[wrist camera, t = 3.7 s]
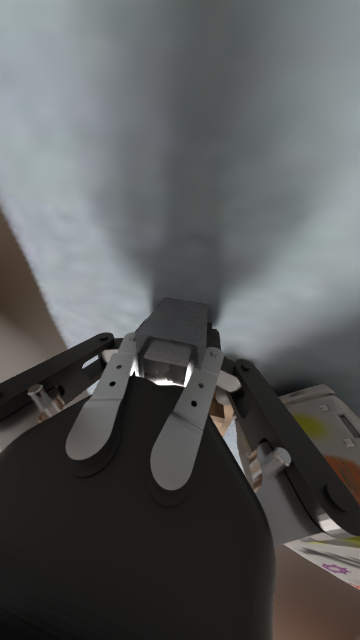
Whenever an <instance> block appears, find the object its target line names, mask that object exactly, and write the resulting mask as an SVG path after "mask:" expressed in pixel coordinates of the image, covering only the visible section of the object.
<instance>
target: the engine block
mask: <svg viewBox="0 0 360 640" xmlns="http://www.w3.org/2000/svg"><path fill="white" fill-rule="evenodd" d="M207 313H208V304H201V303H195V302H188V301H182V300H176V299H169V298H164V299H163V301H162V302H161V303H160V304H159V305H158V306H157V308H156V309H155V310H154V311H153V312H152V314H151V315H150V316H149V317H148V318H147V319H146V321H145V322H144V323H143V324H142V325H141V327H140V328H139V329H138V330H137V331H136V332H135V340H136V351H139V359H138V371H139V373H140V376H141V377H144V378H146V379H148V380H150V381H152V382H154V383H156V384H158V385H178V386H183V387H185V386H186V384H187V382H188V380H189V378H190V376H191V374H192V372H193V370H194V368H195V367H196V366H198V364H202V363H203V359H204V355H205V351H206V343H207Z"/></svg>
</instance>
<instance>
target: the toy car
mask: <svg viewBox="0 0 360 640" xmlns="http://www.w3.org/2000/svg"><path fill="white" fill-rule="evenodd" d="M331 393H332V394H331ZM334 394H335V392H334V391H333V390H332V389H330V388H329V387H328V386H327V385H322V384H321V385H317V386H312V387H309V388H306V389H302V390H299V391H296V392H292V393H289V394H286V395H282V396H279V399H280V400H281V401H282V403H283V404H284V405H285V407H286V408H287V409H288V411H289V412H290V413H291V414H292V416H293V417H294V418H295V420H296V421H297V422H298V424H299V425H300V426H301V428H302V429H303V430H304V432H305V433H306V434H307V436H308V437H309V438H310V439H311V441H312V442H313V443H314V445H315V446H316V447H317V449H318V450H319V451H320V453H321V454H322V455H323V457H324V458H325V459H326V461H327V462H328V463H329V464H330V466H331V467H332V468H333V470H334V471H335V472H336V474H337V475H338V476H339V478H340V479H341V480H342V482H343V483H344V484H345V486H346V487H347V488H348V489H349V491H350V492H351V493H352V495H353V496H354V498H355V499H356V501H357V502H358V504H359V506H360V419H359V418H358V417H357V416H356V415H355V414H354V413H353V412H352V411H351V410H350V408H349V407H348V406H347V405H346V404H345V403H344V402H343V401H342V400H340V399H339V398H337V397H336V396H334ZM232 419H233V420H234V421H235V425H236V432H237V446H238V451H239V456H240V460H241V463H242V467H243V470H244V473H245V476H246V478H247V480H248V482H249V484H250V485H251V487H252V489H253V478H252V474H251V470H250V466H249V458H250V455H251V454H252V451H251V449H250V447H249V444H248V442H247V440H246V438H245V435H244V433H243V431H242V428H241V426H240V424H239V422H238V419H237V417H236V415H235V413H234V412H233V416H232ZM284 545H286V546H288V547H289V548H291V549H292V550H294V551H295V552H297V553H298V554H300V555H301V556H303V557H305V558H306V559H308V560H309V561H311V562H313V563H315V564H316V565H318V566H320V567H322V568H323V569H325V570H327V571H329V572H330V573H332V574H333V575H335V576H336V577H338V578H340V579H342V580H343V581H345V582H347V583H349V584H350V585H352V586H354V587H356V588H358V589H359V590H360V536H357V537H349V538H340V539H332V540H324V541H316V542H302V541H300V540H295V541H292V542H288V543H285V544H284Z"/></svg>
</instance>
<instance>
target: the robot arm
mask: <svg viewBox="0 0 360 640" xmlns="http://www.w3.org/2000/svg"><path fill="white" fill-rule="evenodd" d="M145 321H146V320H145ZM145 321H144V322H145ZM144 322H143V323H144ZM143 323H142V324H143ZM142 324H141V325H142ZM141 325H140V327H141ZM140 327H139V328H140ZM139 328H138V329H139ZM138 329H137V330H138ZM137 330H136V331H137ZM136 331H135V332H136ZM135 332H132V333H128V334H127V335H125V337H124V338H114V336H113V334H111V333H101V334H98V335H96V336H94V337H92V338H90V339H88V340H86V341H84V342H82V343H80V344H78V345H76V346H74V347H72V348H70V349H68V350H66V351H64V352H62V353H60V354H58V355H56V356H54V357H52V358H50V359H48V360H46V361H44V362H42V363H41V364H38V365H36V366H34V367H32V368H31V369H28V370H27V371H24V372H22V373H20V374H18V375H16V376H15V377H12V378H10V379H8V380H6V381H4V382H2V383H0V447H1V449H2V452H1V453H0V640H272V620H273V602H274V593H275V585H276V557H275V548H274V547H275V546H278V545H281V544H285V543H288V542H292V541H295V540H300V541H302V542H316V541H324V540H332V539H340V538H349V537H357V536H360V506H359V504H358V502H357V501H356V499H355V498H354V496H353V495H352V493H351V492H350V491H349V489H348V488H347V487H346V486H345V484H344V483H343V482H342V480H341V479H340V478H339V476H338V475H337V474H336V472H335V471H334V470H333V468H332V467H331V466H330V464H329V463H328V462H327V461H326V459H325V458H324V457H323V455H322V454H321V453H320V451H319V450H318V449H317V447H316V446H315V445H314V443H313V442H312V441H311V439H310V438H309V437H308V436H307V434H306V433H305V432H304V430H303V429H302V428H301V426H300V425H299V424H298V422H297V421H296V420H295V418H294V417H293V416H292V414H291V413H290V412H289V411H288V409H287V408H286V407H285V405H284V404H283V403H282V401H281V400H280V399H279V397H278V396H277V395H276V393H275V392H274V391H273V389H272V388H271V387H270V386H269V384H268V383H267V382H266V380H265V379H264V378H263V376H262V375H261V374H260V372H259V371H258V370H257V368H256V367H255V366H254V365H253V364H252V363H251V362H249V361H247V360H243V359H239V360H237V361H236V362H234V361H231V360H229V359H227V358H226V357H225V356H224V353H223V352H222V351H221V345H220V336H219V332H218V331H217V329H212V323H208V322H207V343H206V351H205V355H204V359H203V363H202V364H198V366H196V367H195V368H194V370H193V372H192V374H191V376H190V378H189V380H188V382H187V384H186V386H185V387H183V386H178V385H158V384H156V383H154V382H152V381H150V380H148V379H146V378H144V377H141V376H140V373H139V371H138V359H139V351H136V340H135ZM96 355H98V358H99V359H97V360H96V361H94V362H93V363H91V364H90V365H88V366H87V367H85V368H83V369H82V366H83V364H84V363H85V362H87V361H88V360H90V359H91V358H93V357H95V356H96ZM99 379H100V380H99ZM98 380H99V382H98V384H97V386H96V388H95V390H94V392H93V394H92V395H90V396H88V397H86V398H84V399H82V400H81V401H79V402H77V403H75V404H73V405H72V406H70V407H68V408H66V409H64V410H63V411H61V410H62V409H63V407H64V406H65V405H66V404H68V403H69V402H70V401H72V400H73V399H74V398H75V397H77V396H78V395H79V394H81V393H82V392H83V391H85V390H86V389H87V388H88V387H90V386H91V385H92V384H94V383H95V382H96V381H98ZM216 385H217V386H219V387H221V388H223V389H225V392H226V394H227V397H228V399H229V401H230V403H231V406H232V408H233V410H234V413H235V415H236V417H237V419H238V422H239V424H240V426H241V428H242V431H243V433H244V435H245V438H246V440H247V442H248V444H249V447H250V449H251V451H252V454H251V455H250V458H249V466H250V470H251V474H252V478H253V489H252V487H251V485H250V484H249V482H248V480H247V478H246V477H245V475H244V473H243V471H242V470H241V468H240V466H239V465H238V463H237V461H236V459H235V458H234V456H233V454H232V453H231V451H230V449H229V447H228V446H227V444H226V442H225V441H224V439H223V437H222V435H221V434H220V432H219V430H218V428H217V427H216V425H215V423H214V422H213V420H212V418H211V416H210V415H209V413H208V412H209V408H210V405H211V401H212V398H213V394H214V391H215V387H216Z"/></svg>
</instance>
